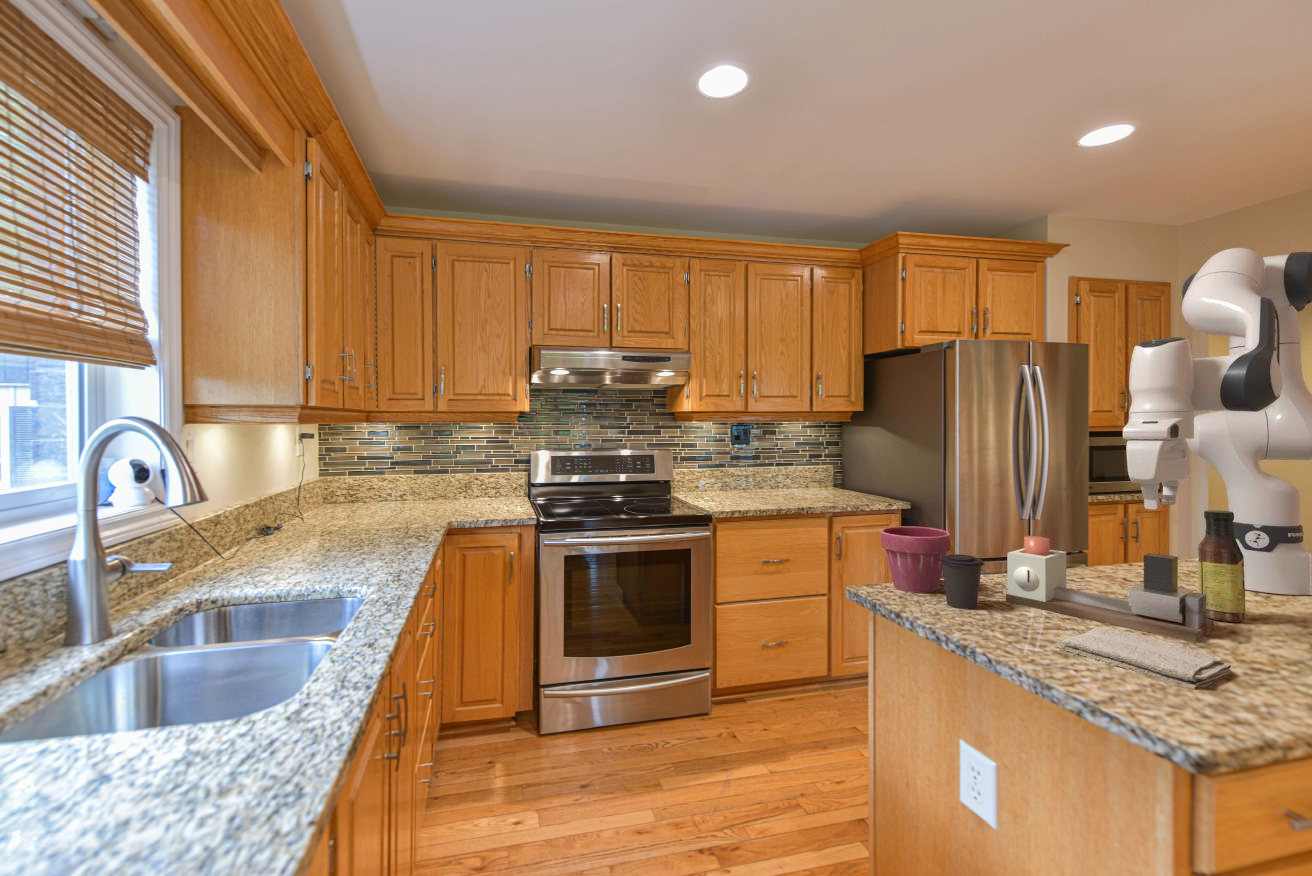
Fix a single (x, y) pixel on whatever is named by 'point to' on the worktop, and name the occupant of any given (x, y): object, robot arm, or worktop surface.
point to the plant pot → (915, 556)
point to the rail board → (1125, 613)
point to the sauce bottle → (1221, 569)
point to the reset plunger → (1037, 545)
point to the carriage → (1159, 590)
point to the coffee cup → (961, 580)
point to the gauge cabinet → (1035, 574)
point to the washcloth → (1149, 656)
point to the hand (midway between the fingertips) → (1160, 506)
